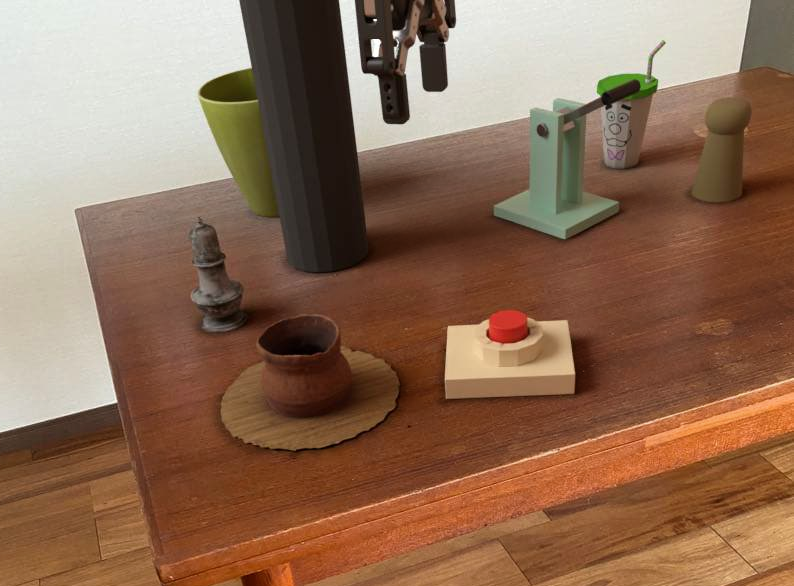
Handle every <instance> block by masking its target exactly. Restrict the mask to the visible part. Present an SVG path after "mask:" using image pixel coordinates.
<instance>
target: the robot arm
mask: <svg viewBox="0 0 794 586" xmlns="http://www.w3.org/2000/svg"><path fill="white" fill-rule="evenodd" d="M354 7H355V8H354V9H355V17H356V28H357V36H358V37H357V38H358V48H359V57H360V67H361V71H362V73H363V74H364V75H373V76H374V77H377V80H378V88H379V98H380V105H381V115H382V120H383V122H384V123H385V124H386V125H404V124H406V123H407V122H408V121H410V118H411V112H410V101H409V90H408V80H407V73H405V72H406V68H407V61H408V54H409V50H410V48H412V47H413V46H414V45H415V44H416V38H417V39H418V41H419V42H420V43H422V44H421V45H419V48H418V49H419V59H420V72H421V83H422V89H423V90H424V91H425V92H427V93H442V92H444V91H445V90H446V89H447V88H448V86H449V79H448V78H449V77H448V63H447V62H448V61H447V48H446V43H447V42H448V41H449V38H450V29H455V28H456V25H457V13H456V0H354ZM372 41H373V42H374V50H373V47H372ZM395 48H396V50H395Z"/></svg>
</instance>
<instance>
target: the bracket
mask: <svg viewBox="0 0 794 586" xmlns="http://www.w3.org/2000/svg"><path fill="white" fill-rule="evenodd" d="M585 104H586V103H584V102H580V101H575V100H570V99H565V98H561V97H557V98H555V99H553V100H552V110H550V109H549V110H548V109H545V108H540V107H533V108H531V109H530V110H529V183H528V185H529V186H528V189H526V190H523V191H522V192H520V193H518V194H515V195H514V196H511V197H509V198H507V199H505V200H503V201H501V202H499V203H496V204H495V205H493V216H494V217H497V218H501V219H502V220H503V219H504V220H506V221H509V222H512V223H515V224H518V225H520V226H524V227H527V228H530V229H532V230H535V231H538V232H541V233H544V234H547V235H551V236H554V237H556V238H559V239H562V240H565V241H566V240H568V239H569V238H571V237H573V236H575V235H577V234H579V233H581V232H583V231H585V230H587V229H589V228H590V227H592V226H594V225H596V224H599V223H600V222H602V221H604V220H606V219H608V218H609V217H612V216H614V215H615V214H617V213H619V211H620V202H619V201H617V200H614V199H611V198H608V197H604V196H600V195H597V194H594V193H590V192H586V191H584V173H585V171H584V170H585V154H586V153H585V152H586V132H587V131H586V130H587V129H586V128H587V114H586V115H584V116H582V117H580V118H578V119H576V120H574V123H575V127H574V128H572V129H569V130H567V131H565V132H563V130H564V114H562V113H558V112H556V111H558V110H561V109H563V108H565V107H568V106H569V108H570V111H573V110H575V109H577V108H579V107H581V106H583V105H585Z"/></svg>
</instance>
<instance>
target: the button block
mask: <svg viewBox="0 0 794 586" xmlns="http://www.w3.org/2000/svg"><path fill="white" fill-rule="evenodd" d="M572 347H573V346H572V341H571V334H570V327H569V320H568V319H562V320H561V319H560V320H542V321H540V320H539V321H537V320H535V319H534V318H530V317H527V337H526V339H525V340H522V341H520V342H517V343H509V344H502V343H498V342H494V341H492V340H491V339H490V337H489V318H488V319H485V320H483V321H481V323H479V324H461V325H460V324H459V325H448V326H447V334H446V348H445V349H446V352H445V368H444V369H445V370H444V388H445V389H444V390H445V400H457V399H481V398H505V397H508V398H509V397H529V396H532V397H533V396H556V395H558V396H559V395H574V394H575V392H576V391H575V388H576V368H575V362H574V361H575V360H574V355H573V348H572Z"/></svg>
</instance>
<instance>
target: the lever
mask: <svg viewBox="0 0 794 586" xmlns="http://www.w3.org/2000/svg"><path fill="white" fill-rule="evenodd" d="M640 88H641V85H640V82H639V81H638V80H636V79H633V80H631V81H629V82H626V83H624V84H622V85H619V86H617V87H615V88H612V89H610V90H608V91H605V92H604V93H603V94H602V96H601V97H600V96H599V97H597V98H595V99H593V100H592V101H589V102H587V103H584V104H585V105H583V106H581V107H579V108H577V109H575V110H573V111H570V108H569V106H568V107H565V108H563V109H561V110H558V111H556V112H558V113H562V114H564V130H563V132H565V131H567V130H569V129H572V128H574V127H575V123H574V120H576V119H578V118H580V117H582V116H584V115H586V116H587V115H588V114H590V113H592V112H595V111H597V110H599V109H601V107H603V106H605V105H606V106H609V105H611V104H613V103H615V102H618V101H620V100H622V99H625V98H627V97H629V96H631V95H634V94H636V93H638V92H639V91H640Z"/></svg>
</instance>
